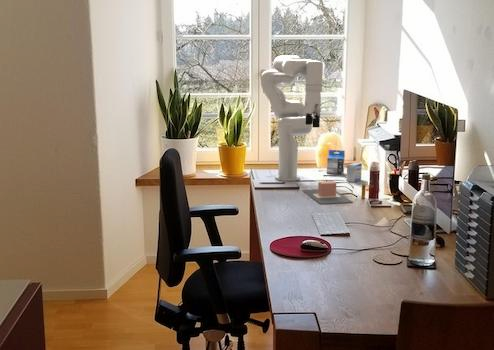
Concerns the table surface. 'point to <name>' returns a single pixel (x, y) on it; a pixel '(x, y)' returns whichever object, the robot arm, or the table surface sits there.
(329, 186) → the card box
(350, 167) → the medicine box
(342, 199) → the mat
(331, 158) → the label tape box
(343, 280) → the table surface
